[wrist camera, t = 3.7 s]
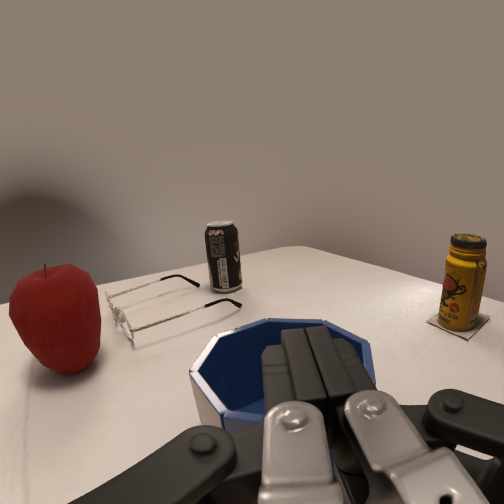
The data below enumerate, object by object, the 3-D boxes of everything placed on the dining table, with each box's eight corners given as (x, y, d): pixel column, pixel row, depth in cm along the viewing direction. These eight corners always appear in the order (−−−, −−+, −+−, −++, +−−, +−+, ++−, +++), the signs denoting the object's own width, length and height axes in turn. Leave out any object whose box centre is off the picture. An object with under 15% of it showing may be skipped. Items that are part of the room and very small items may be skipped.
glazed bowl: (383, 441, 18) (407, 359, 16) (263, 522, 13) (254, 457, 11) (298, 381, 28) (297, 305, 25) (192, 426, 22) (171, 347, 20)
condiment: (425, 322, 35) (436, 235, 32) (453, 304, 39) (462, 228, 36) (467, 341, 29) (485, 247, 26) (490, 318, 32) (504, 237, 29)
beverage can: (231, 280, 58) (226, 218, 55) (248, 287, 54) (243, 221, 51) (205, 287, 55) (197, 223, 52) (220, 296, 51) (213, 226, 48)
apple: (92, 333, 39) (71, 245, 36) (133, 362, 32) (106, 254, 29) (26, 362, 30) (-6, 269, 26) (50, 405, 23) (3, 288, 20)
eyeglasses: (103, 312, 46) (97, 285, 45) (196, 284, 57) (192, 259, 56) (131, 355, 34) (121, 320, 33) (248, 310, 45) (245, 279, 44)
